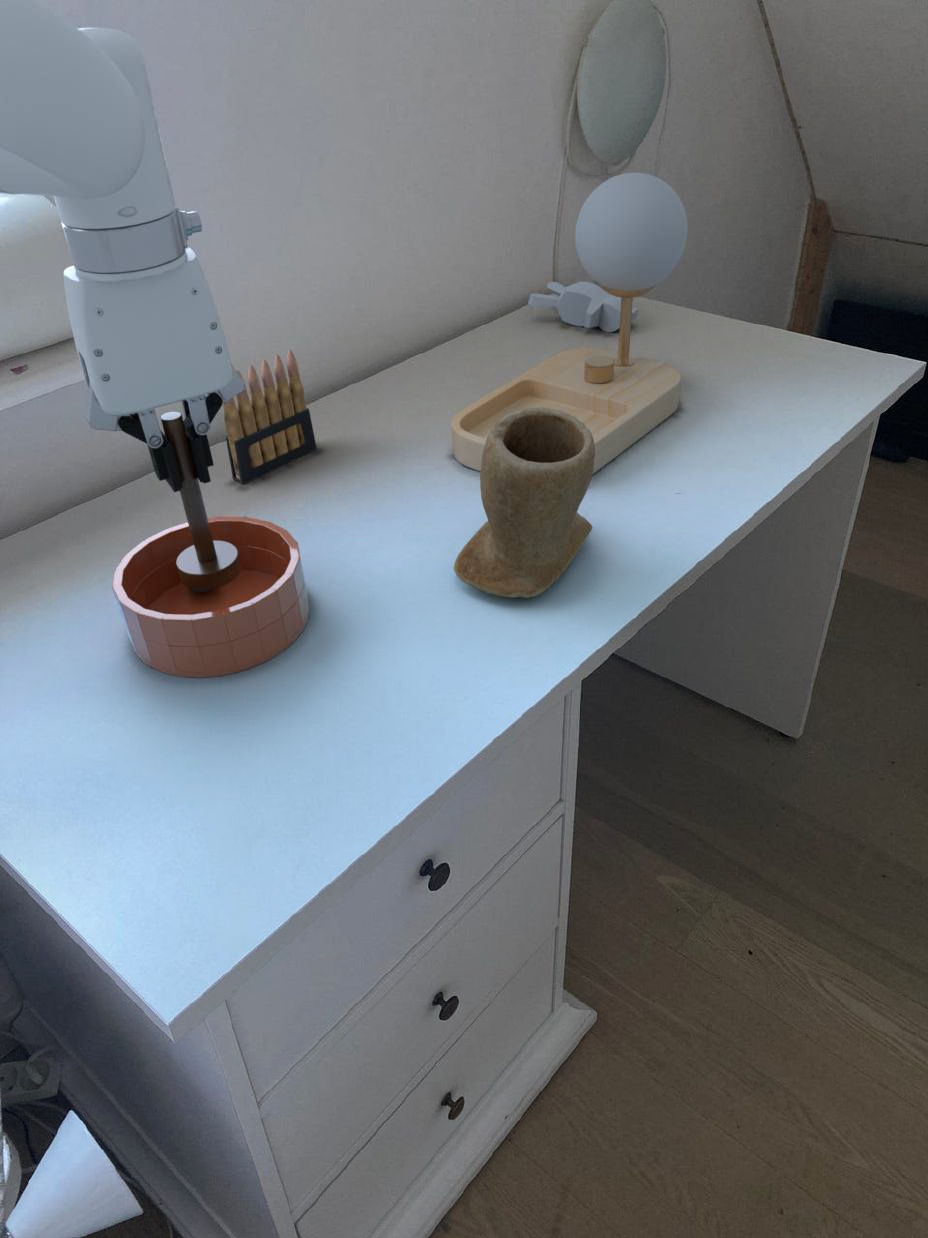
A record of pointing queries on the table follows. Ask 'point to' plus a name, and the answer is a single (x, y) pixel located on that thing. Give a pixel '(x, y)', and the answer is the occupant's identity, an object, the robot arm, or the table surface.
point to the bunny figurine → (583, 305)
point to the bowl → (213, 601)
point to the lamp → (615, 380)
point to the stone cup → (529, 503)
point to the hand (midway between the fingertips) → (187, 478)
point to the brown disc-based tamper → (198, 521)
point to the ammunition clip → (268, 422)
